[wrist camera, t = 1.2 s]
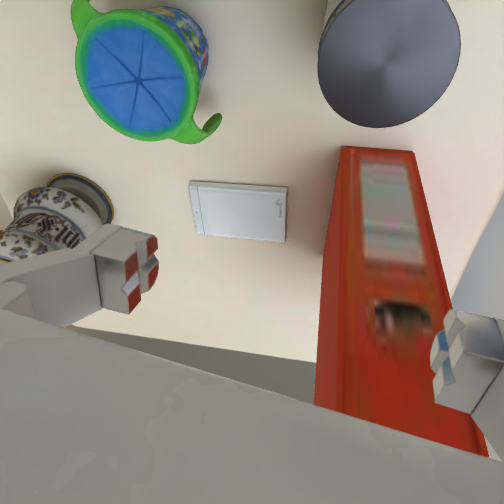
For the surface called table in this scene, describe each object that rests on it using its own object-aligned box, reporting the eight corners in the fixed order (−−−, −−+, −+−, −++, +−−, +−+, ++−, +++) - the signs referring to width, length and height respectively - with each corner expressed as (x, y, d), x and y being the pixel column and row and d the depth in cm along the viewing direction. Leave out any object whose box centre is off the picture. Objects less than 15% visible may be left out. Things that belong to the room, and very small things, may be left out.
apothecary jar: (62, 233, 63) (-14, 325, 50) (25, 165, 55) (-77, 254, 42) (132, 236, 60) (71, 333, 47) (104, 165, 52) (22, 259, 39)
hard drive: (286, 193, 48) (187, 186, 50) (285, 244, 54) (196, 236, 56) (288, 186, 49) (191, 179, 51) (286, 236, 55) (199, 229, 57)
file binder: (416, 151, 43) (489, 460, 20) (381, 264, 55) (403, 541, 32) (341, 145, 44) (329, 431, 21) (323, 257, 56) (302, 519, 33)
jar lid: (294, 42, 28) (291, 52, 26) (415, -60, 23) (419, -56, 22) (361, 137, 32) (361, 150, 30) (477, 65, 27) (484, 77, 25)
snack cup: (84, 3, 39) (22, 31, 32) (159, -72, 34) (107, -58, 27) (184, 134, 47) (152, 180, 40) (257, 89, 42) (237, 133, 35)
